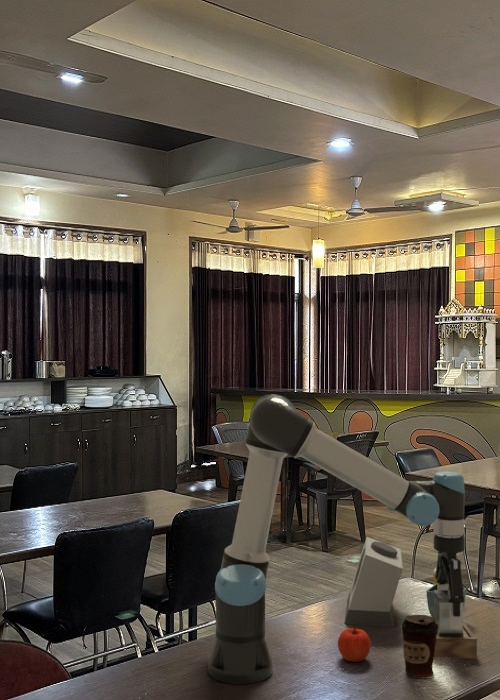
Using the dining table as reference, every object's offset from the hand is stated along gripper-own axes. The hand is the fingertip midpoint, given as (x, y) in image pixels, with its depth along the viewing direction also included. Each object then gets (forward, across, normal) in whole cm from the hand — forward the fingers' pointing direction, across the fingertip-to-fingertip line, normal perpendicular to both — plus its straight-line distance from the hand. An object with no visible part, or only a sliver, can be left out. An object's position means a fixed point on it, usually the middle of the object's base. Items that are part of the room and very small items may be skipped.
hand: (448, 618), depth 198 cm
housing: (+4, 0, 0) cm, 4 cm away
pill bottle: (+8, +40, -8) cm, 41 cm away
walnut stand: (+8, 0, 0) cm, 8 cm away
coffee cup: (+8, -15, +10) cm, 20 cm away
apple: (+8, -6, +24) cm, 27 cm away
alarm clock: (+8, +27, +15) cm, 32 cm away
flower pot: (+8, +20, -4) cm, 22 cm away
